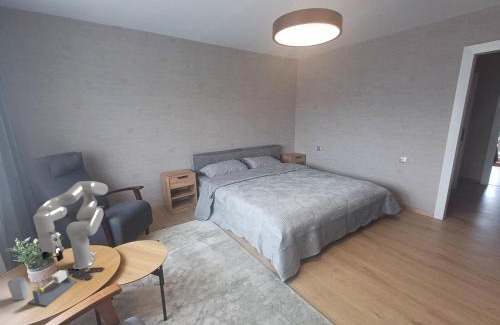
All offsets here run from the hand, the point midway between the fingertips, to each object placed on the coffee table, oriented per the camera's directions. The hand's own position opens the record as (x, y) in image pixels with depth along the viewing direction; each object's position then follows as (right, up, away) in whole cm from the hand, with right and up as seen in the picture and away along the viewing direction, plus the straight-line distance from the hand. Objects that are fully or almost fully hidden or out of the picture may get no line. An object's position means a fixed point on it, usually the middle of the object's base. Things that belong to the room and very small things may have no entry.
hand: (53, 259), depth 130 cm
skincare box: (-16, -21, -3) cm, 26 cm away
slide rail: (0, -20, 0) cm, 20 cm away
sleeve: (+1, -14, +4) cm, 15 cm away
